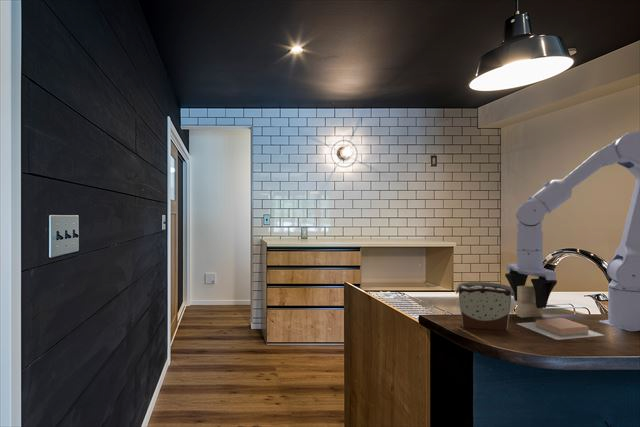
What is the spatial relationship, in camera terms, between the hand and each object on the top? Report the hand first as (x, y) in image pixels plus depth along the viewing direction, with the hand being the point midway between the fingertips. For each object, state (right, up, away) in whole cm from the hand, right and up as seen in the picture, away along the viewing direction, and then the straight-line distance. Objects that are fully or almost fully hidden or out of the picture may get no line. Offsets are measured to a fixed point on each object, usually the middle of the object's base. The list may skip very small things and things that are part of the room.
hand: (529, 304), depth 101 cm
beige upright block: (0, -4, 0) cm, 4 cm away
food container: (-15, -4, -7) cm, 17 cm away
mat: (0, -4, -11) cm, 12 cm away
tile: (0, -2, -9) cm, 9 cm away
